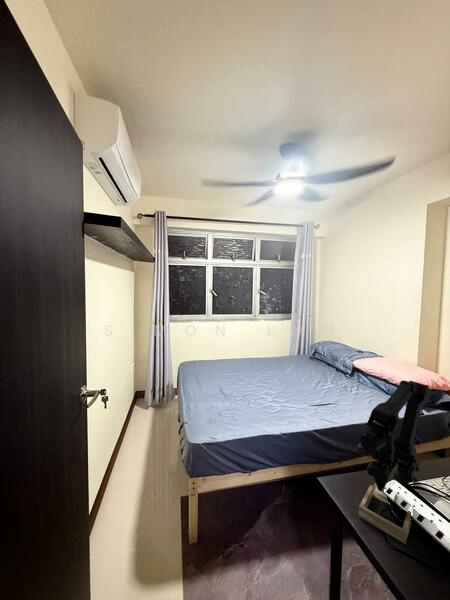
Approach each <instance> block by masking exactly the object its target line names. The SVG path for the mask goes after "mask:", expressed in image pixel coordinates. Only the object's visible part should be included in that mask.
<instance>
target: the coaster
mask: <svg viewBox="0 0 450 600" xmlns="http://www.w3.org/2000/svg"><path fill="white" fill-rule="evenodd" d="M373 486H374V494H373V497H372V498H373V499H376V500H378V501H380V502H382V503H383V504H386V503H388V504H390V502H388V499H385V498H382V497H380V496H379V495H377V493H376V492H375V489H376V487H377V485H376V482H375V483H374V484H373ZM388 504H387V505H388ZM390 505H391V504H390ZM390 505H389V506H390Z"/></svg>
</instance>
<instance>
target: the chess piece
mask: <svg viewBox="0 0 450 600" xmlns="http://www.w3.org/2000/svg"><path fill="white" fill-rule="evenodd" d="M385 487H386V486H385ZM385 487H384V488H383V490H382V491H379V490H378V488H377V487H376V489H375V492H376V493H377V495H379V496H380V497H382V498H385V499H387V496H386V494H385V493H384V489H385Z"/></svg>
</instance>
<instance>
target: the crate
mask: <svg viewBox="0 0 450 600" xmlns="http://www.w3.org/2000/svg"><path fill="white" fill-rule="evenodd" d="M373 494H374V485H372V484H370V485H369V486H368V489H367V490H366V493H365V495H364V496H363V498H362V500H361V502H360V503H359V506H358V517H359V518H362V520H364V521H366V522H368V523H369V524H371V525H373V526H375V527H376V528H377V529H379V530H381V531H383V532H385V533H386V534H388V535H389V536H392V537H393V538H395V539H397V540H398V541H400V542H402V543H403V544H404V545H405V544H407V540H408V536H409V533H410V530H411V526H412V522H411V520H412V521H413V519H411V512H410V511H408V510H407V511H406V512H407V513H406V515H405V519H404V522H403V526H402V527H401V526H399V525H397V524H395V523H394V522H392V521H390V520H388V519H386V518H385V517H383V516H381V515H380V514H378V513H376V512H374V511H372V510H370V509H369V508H368V507H369V504H370V503H371V502H372V499H373V498H374V497H373Z"/></svg>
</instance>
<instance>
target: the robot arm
mask: <svg viewBox="0 0 450 600" xmlns="http://www.w3.org/2000/svg"><path fill="white" fill-rule="evenodd" d="M432 394H433V390H432V388H430V387H429V385H428V384H424V383H421V382H417V381H413V380H409V381H408V380H400V382H399V386H397V388H396V389H395V390H394V391H393V393H391V395H390V397H388V399H387V400H386V401H385V402H380V403H378V404H377V405H376V406H375V407H374V408H373V409H372V410H371V412H370V415H369V418H368V420H367V423H366V427H369V428H370V430H367V431H365V434H363V435H362V436H361V437H360V439H359V444H358V445H357V450H356V453H358V455H359V456H361V457H362V456H363V457H371V459H372V460H374V461H377V462H378V463H376V462H374V461H372V462H369V464H368V465H367V467H366V473H367V475H369V476H371V477H373V478H374V482H375V483H376V485H377V488H378V490H379V491H382V490H383V488H384V487H386V485H387V483H389V480H390V474H391V473H392V471H393V470H394V468H395V472H394V474H393V479H394V480H397V481H398V482H400V483H403V484H405V483H406V484H405V485H407V483H408V482H412V481H413V480H415V481H416V480H417V479H416V477H417V476H415V475H414V473H415V472H420V468H421V461H420V460H419V459H418V458H417V449H416V446H415V443H414V442H415V437H416V432H417V429H418V424H419V419H420V414H421V411H422V407H423V406H424V405H426V404H427V403H429V400H430V399H431V397H432V396H433V395H432ZM404 407H405V410H404V413H403V414H404V415H403V418H402V423H401V427H400V430H399V436H398V437H396V438H394V435H395V431H396V430H397V427H398V425H399V421H400V416H399V414H400V412H401V410H403V408H404Z"/></svg>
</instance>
